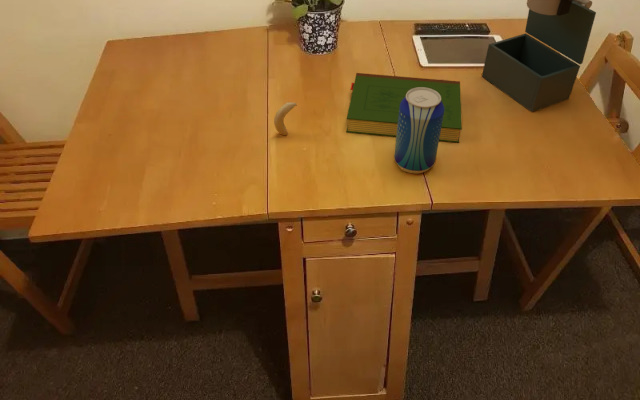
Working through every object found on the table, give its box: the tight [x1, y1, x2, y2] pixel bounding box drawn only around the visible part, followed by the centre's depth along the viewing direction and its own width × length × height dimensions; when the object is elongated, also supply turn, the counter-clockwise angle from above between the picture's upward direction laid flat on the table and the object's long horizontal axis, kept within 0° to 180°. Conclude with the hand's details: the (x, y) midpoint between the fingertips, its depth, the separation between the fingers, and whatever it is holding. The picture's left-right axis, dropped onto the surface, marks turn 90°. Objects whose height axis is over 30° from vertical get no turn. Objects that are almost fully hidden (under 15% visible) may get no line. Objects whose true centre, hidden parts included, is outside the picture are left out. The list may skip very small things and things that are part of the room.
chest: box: [481, 32, 581, 113], centre depth 137 cm, size 12×18×9 cm, turn 28°
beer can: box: [393, 87, 444, 175], centre depth 114 cm, size 8×8×16 cm
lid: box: [524, 0, 597, 65], centre depth 132 cm, size 12×18×6 cm
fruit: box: [273, 101, 298, 136], centre depth 123 cm, size 4×8×2 cm
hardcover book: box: [345, 72, 463, 144], centre depth 131 cm, size 25×19×4 cm
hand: (546, 5), depth 125 cm, fingers closed on cup, 8 cm apart
